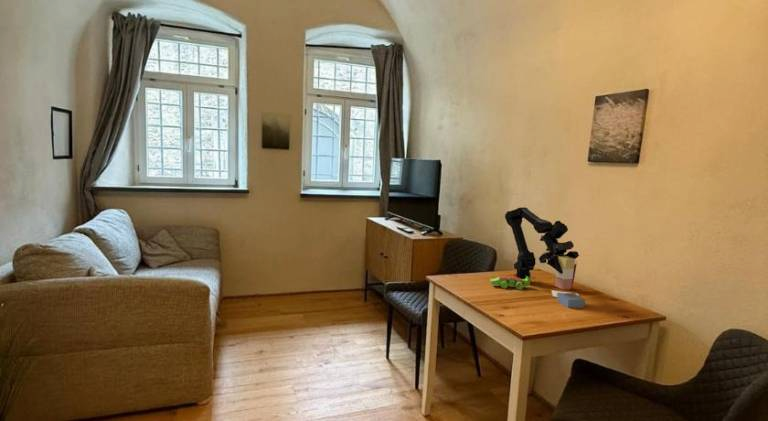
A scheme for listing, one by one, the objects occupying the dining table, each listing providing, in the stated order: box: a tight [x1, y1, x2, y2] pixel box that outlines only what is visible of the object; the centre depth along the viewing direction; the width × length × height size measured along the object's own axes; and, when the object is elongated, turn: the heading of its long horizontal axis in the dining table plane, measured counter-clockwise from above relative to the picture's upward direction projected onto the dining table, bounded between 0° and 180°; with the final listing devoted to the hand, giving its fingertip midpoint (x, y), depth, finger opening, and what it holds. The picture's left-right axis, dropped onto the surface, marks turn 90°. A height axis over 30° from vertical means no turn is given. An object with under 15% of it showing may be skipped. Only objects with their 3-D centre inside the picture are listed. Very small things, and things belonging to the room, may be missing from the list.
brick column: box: [554, 256, 576, 290], centre depth 191 cm, size 5×5×14 cm
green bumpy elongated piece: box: [489, 275, 531, 291], centre depth 209 cm, size 20×7×6 cm, turn 85°
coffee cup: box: [559, 259, 578, 291], centre depth 210 cm, size 8×8×15 cm
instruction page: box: [551, 290, 580, 298], centre depth 200 cm, size 12×9×1 cm
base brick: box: [557, 292, 586, 309], centre depth 188 cm, size 8×8×4 cm
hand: (566, 273), depth 190 cm, fingers closed on brick column, 5 cm apart
